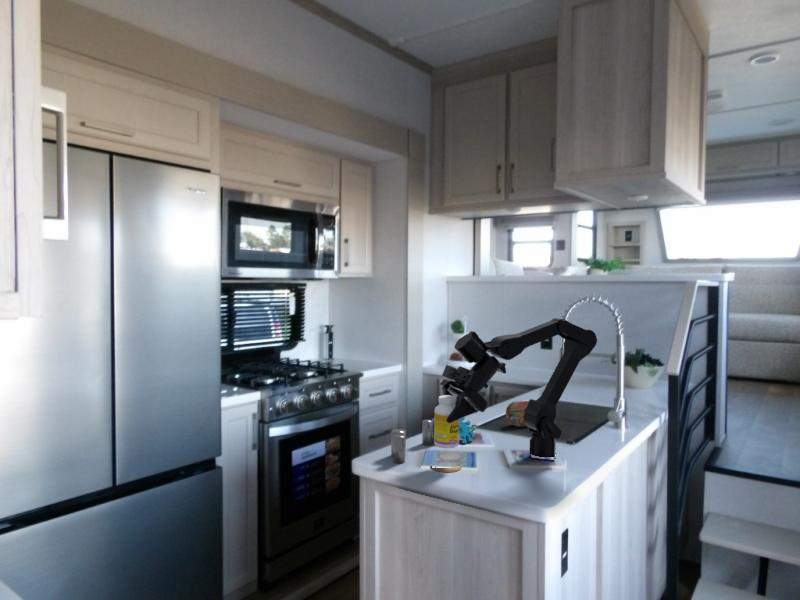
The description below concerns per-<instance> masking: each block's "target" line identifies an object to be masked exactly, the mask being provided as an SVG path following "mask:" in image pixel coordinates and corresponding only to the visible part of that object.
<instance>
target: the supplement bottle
mask: <svg viewBox="0 0 800 600" xmlns="http://www.w3.org/2000/svg"><path fill="white" fill-rule="evenodd" d="M438 403H439V404H438V405H436V406H435V408H434V443H433V444H434V445H435V446H436V447H438V448H442V449H454V448H456V447H458V446H459V445H460V441H459V424H460V419H458V420H456V421H453V422H451V423H448V422H447V421H446V420H447V418H448V417H449V415H450V414H451V412H452V411H453V409H454V408H455V403H456V397H455V396H451V395H443V394H442V395H439V396H438Z"/></svg>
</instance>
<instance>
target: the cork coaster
mask: <svg viewBox="0 0 800 600" xmlns="http://www.w3.org/2000/svg"><path fill="white" fill-rule="evenodd" d="M431 470H433V471H435V472H439V473H456V472H459V471H461V470H462V465H461V464H460V466H456V467H451V468H436V467H435V468H431Z"/></svg>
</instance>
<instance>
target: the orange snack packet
mask: <svg viewBox="0 0 800 600" xmlns="http://www.w3.org/2000/svg"><path fill="white" fill-rule="evenodd" d="M534 400H535V401H536V400H537V399H534ZM529 401H530V399H525V400H516V401H512V402H510V403H509V404H508V405H507V407H506V408H505V409H506V410H505V419H506V421H507V422H508V423H509V425H512V426H514V427H517V428H519V427H527V426H526V424H525V423H524V419H523V416H524V413H525V412H524V411H523V410H525V409H526V407H527V405H528V403H529Z"/></svg>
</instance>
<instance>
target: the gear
mask: <svg viewBox="0 0 800 600" xmlns="http://www.w3.org/2000/svg"><path fill="white" fill-rule="evenodd" d="M465 418H466V417H465V416H464V417H462V418H460V424H459V442H460V441H461V443H462V442H464V443H466V444H467V443H471V442H473V438H474V437H475V436H476V434H475V433H474V432H475V431H476V430H477V425H473V426H470V425H471V421H470V420H467V421H465ZM461 439H462V440H461ZM468 441H469V442H468ZM470 441H471V442H470Z"/></svg>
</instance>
